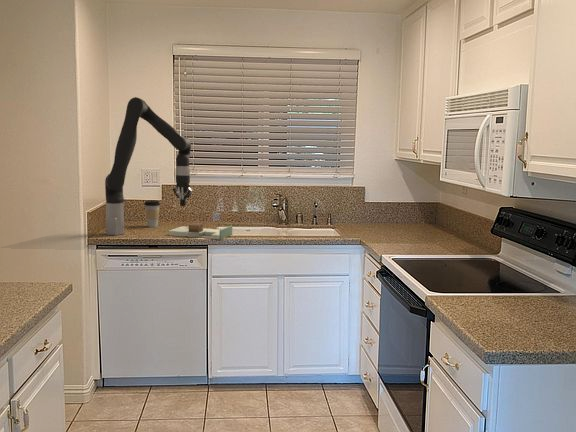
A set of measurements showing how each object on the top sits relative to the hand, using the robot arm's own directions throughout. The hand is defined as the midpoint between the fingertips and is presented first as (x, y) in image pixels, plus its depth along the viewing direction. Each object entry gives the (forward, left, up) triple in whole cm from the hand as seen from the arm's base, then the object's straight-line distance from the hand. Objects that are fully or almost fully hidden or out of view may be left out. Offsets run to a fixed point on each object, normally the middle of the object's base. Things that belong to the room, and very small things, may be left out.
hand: (183, 206), depth 322 cm
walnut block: (+2, -7, -14) cm, 15 cm away
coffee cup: (+20, +30, -17) cm, 39 cm away
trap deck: (+6, -7, -16) cm, 19 cm away
